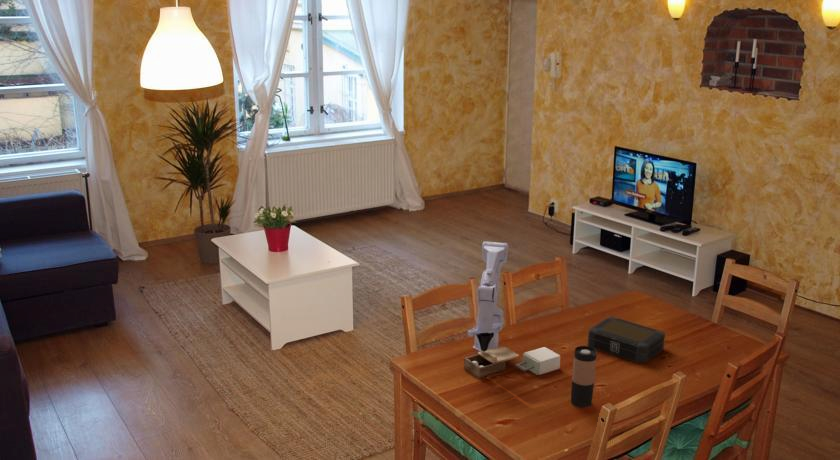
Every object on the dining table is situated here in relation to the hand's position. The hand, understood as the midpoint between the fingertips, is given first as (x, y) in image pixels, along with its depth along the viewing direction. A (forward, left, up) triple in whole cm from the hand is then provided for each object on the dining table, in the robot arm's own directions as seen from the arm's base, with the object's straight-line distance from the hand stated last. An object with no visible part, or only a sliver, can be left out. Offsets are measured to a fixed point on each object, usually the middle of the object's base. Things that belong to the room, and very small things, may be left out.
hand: (483, 350), depth 305 cm
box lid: (0, +7, -4) cm, 8 cm away
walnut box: (0, +1, -9) cm, 9 cm away
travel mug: (+37, +15, -9) cm, 41 cm away
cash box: (+13, +62, -9) cm, 64 cm away
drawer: (+10, +16, -8) cm, 21 cm away
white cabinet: (+11, +20, -9) cm, 24 cm away
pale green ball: (+2, -2, -8) cm, 9 cm away
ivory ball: (-2, -2, -8) cm, 9 cm away
